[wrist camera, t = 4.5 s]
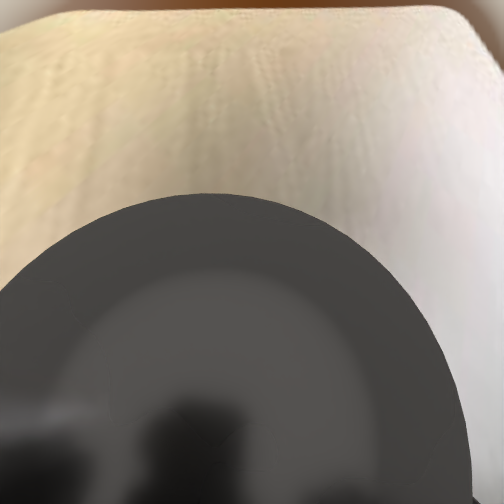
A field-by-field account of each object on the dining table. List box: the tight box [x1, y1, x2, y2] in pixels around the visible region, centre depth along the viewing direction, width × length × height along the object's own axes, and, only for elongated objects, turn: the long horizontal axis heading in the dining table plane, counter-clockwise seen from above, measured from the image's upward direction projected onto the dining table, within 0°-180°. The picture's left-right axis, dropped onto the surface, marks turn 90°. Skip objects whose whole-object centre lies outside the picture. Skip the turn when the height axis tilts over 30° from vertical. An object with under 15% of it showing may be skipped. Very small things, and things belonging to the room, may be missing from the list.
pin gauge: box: [0, 193, 473, 504], centre depth 8 cm, size 4×4×13 cm
